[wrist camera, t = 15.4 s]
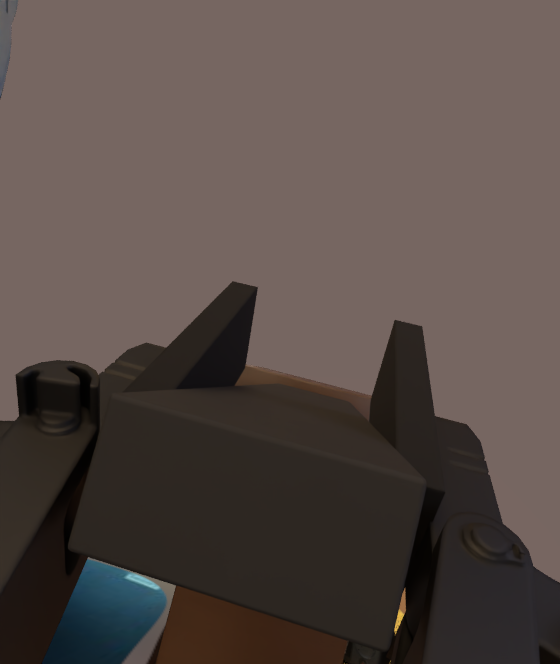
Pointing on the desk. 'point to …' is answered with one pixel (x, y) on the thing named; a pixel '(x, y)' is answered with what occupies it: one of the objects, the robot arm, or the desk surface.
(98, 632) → the desk surface
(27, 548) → the robot arm
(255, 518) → the black block
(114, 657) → the desk surface
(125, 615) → the desk surface
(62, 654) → the desk surface
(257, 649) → the block
